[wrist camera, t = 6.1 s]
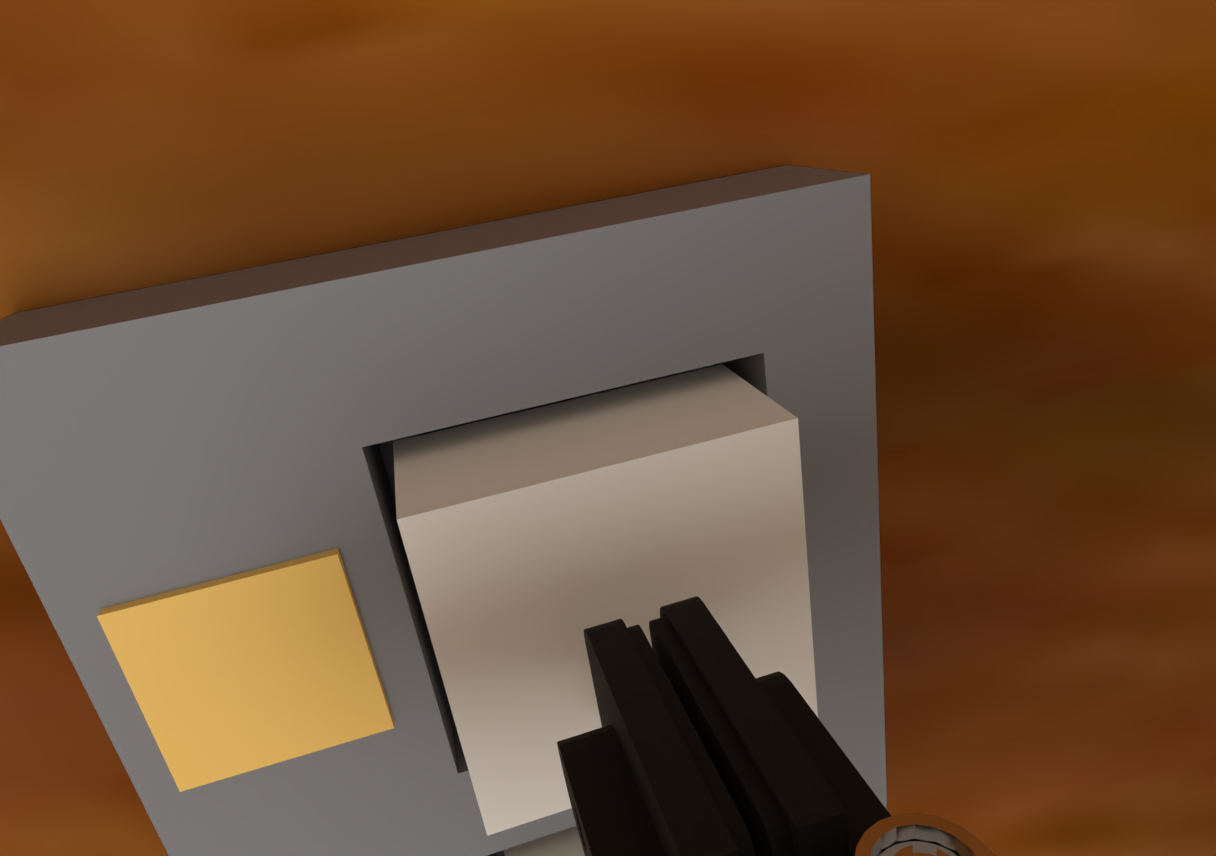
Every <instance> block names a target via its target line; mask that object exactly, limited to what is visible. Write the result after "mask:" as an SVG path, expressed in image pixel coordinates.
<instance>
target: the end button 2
mask: <svg viewBox="0 0 1216 856" xmlns="http://www.w3.org/2000/svg"><path fill="white" fill-rule="evenodd" d="M393 452H394V474H395V496H396V518H397V523H398V526H399V530H400V533H401V537H402V540H403V544H404V547H405V551H406V554H407V558H408V561H409V565H410V568H411V572H412V575H413V579H414V582H415V586H416V589H417V593H418V596H419V600H420V603H421V607H422V610H423V613H424V617H425V620H426V624H427V627H428V631H429V634H430V638H431V641H432V645H433V648H434V652H435V655H436V659H437V662H438V666H439V669H440V673H441V676H442V680H443V683H444V687H445V690H446V694H447V697H448V701H449V704H450V708H451V711H452V715H453V718H454V721H455V725H456V728H457V732H458V735H459V739H460V742H461V746H462V749H463V753H464V756H465V760H466V763H467V767H468V770H469V774H470V777H471V781H472V784H473V788H474V791H475V795H476V798H477V802H478V805H479V809H480V812H481V816H482V819H483V823H484V826H485V830H486V833H487V836H488V835H491V834H494V833H497V832H501V831H504V830H507V829H510V828H513V827H516V826H519V825H522V824H525V823H528V822H531V821H534V820H537V819H540V818H543V817H546V816H549V815H552V814H555V813H558V812H561V811H564V810H568V809H571V808H572V807H571V803H570V799H569V795H568V791H567V786H566V782H565V778H564V773H563V769H562V765H561V760H560V756H559V751H558V746H557V742H558V741H561V740H564V739H567V738H570V737H573V736H577V735H580V734H583V733H586V732H589V731H592V730H595V729H599V728H602V725H601V720H600V715H599V710H598V705H597V700H596V695H595V690H594V684H593V679H592V674H591V669H590V664H589V659H588V654H587V649H586V644H585V638H584V629H587V628H590V627H594V626H597V625H600V624H604V623H607V622H611V621H614V620H617V619H622V620H623V621H624V623H625V625H626V627H627V628H628V627H631V626H634V625H640V627H641V628H642V630H643V632H644V634H645V636H646V638H647V640H648V641H649V643H650V645H651V647H652V643H651V637H650V631H649V622H650V621H651V620H655V619H658V618H660V608H661V607H662V606H665V605H668V604H672V603H675V602H679V601H682V600H685V599H689V598H692V597H696V596H697V597H699V598H700V599H701V600H702V601H703V602H704V604H705V605H706V607H707V608H708V610H709V611H710V613H711V614H712V616H713V617H714V618H715V620H716V621H717V623H718V624H719V626H720V627H721V629H722V630H723V632H724V633H725V634H726V636H727V637H728V639H729V640H730V642H731V643H732V645H733V646H734V648H735V649H736V650H737V652H738V653H739V655H740V656H741V658H742V659H743V661H744V662H745V664H746V665H747V666H748V668H749V669H750V671H751V672H752V674H753V675H754V677H755V678H759V677H762V676H765V675H768V674H771V673H774V672H778V671H779V672H781V673H783V674H785V675H786V677H787V678H788V679H789V680H790V681H791V682H792V684H793V685H794V686H795V688H796V689H797V690H798V692H799V693H800V694H801V696H802V697H803V698H804V700H805V701H806V702H807V704H808V705H809V706H810V708H811V709H812V710H813V712H814V713H815V714H816V716H817V717H818V710H817V695H816V680H815V665H814V650H813V635H812V620H811V605H810V590H809V575H808V560H807V546H806V531H805V516H804V501H803V486H802V471H801V456H800V441H799V426H798V418H797V417H796V416H794V415H793V414H791V413H790V412H789V411H787V410H786V409H784V408H783V407H782V406H780V405H779V404H777V403H776V402H775V401H773V400H772V399H770V398H769V397H768V396H766V395H765V394H763V393H762V392H761V391H759V390H758V389H756V388H755V387H753V386H752V385H751V384H749V383H748V382H746V381H745V380H744V379H742V378H741V377H739V376H738V375H737V374H735V373H734V372H732V371H731V370H730V369H728V368H727V367H725V366H724V365H723V364H720V365H716V366H712V367H708V368H703V369H699V370H695V371H691V372H687V373H682V374H678V375H674V376H670V377H665V378H661V379H657V380H653V381H648V382H644V383H640V384H636V385H631V386H627V387H623V388H619V389H614V390H610V391H606V392H602V393H597V394H593V395H589V396H585V397H580V398H576V399H572V400H568V401H563V402H559V403H555V404H551V405H546V406H542V407H538V408H534V409H529V410H525V411H521V412H517V413H512V414H508V415H504V416H500V417H496V418H491V419H487V420H483V421H479V422H474V423H470V424H466V425H462V426H457V427H453V428H449V429H445V430H440V431H436V432H432V433H428V434H423V435H419V436H415V437H411V438H406V439H402V440H398V441H394V442H393Z"/></svg>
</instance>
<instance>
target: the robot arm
mask: <svg viewBox="0 0 1216 856" xmlns="http://www.w3.org/2000/svg"><path fill="white" fill-rule="evenodd" d="M649 631H650V637H651V643H652V647H651V645H650V643H649V641H648V640H647V638H646V636H645V634H644V632H643V630H642V628H641V627H640V625H634V626H631V627H628V628H627V627H626V625H625V623H624V621H623V620H622V619H617V620H614V621H611V622H607V623H604V624H600V625H597V626H594V627H590V628H587V629H584V638H585V644H586V649H587V654H588V659H589V664H590V669H591V674H592V679H593V684H594V690H595V695H596V700H597V705H598V710H599V715H600V720H601V725H602V728H599V729H595V730H592V731H589V732H586V733H583V734H580V735H577V736H573V737H570V738H567V739H564V740H561V741H558V742H557V746H558V751H559V756H560V760H561V765H562V769H563V773H564V778H565V782H566V786H567V791H568V795H569V799H570V803H571V807H572V811H573V814H574V818H575V822H576V826H577V830H578V833H579V837H580V840H581V844H582V848H583V851H584V855H585V856H996V855H995V854H994V853H993V852H992V851H991V850H990V849H989V848H987V847H986V846H985V845H984V844H983V843H982V842H981V841H980V840H979V839H977V838H976V837H975V836H973V835H972V834H971V833H969V832H968V831H966V830H965V829H964V828H962V827H961V826H959V825H957V824H954V823H952V822H950V821H947V820H945V819H943V818H940V817H936V816H931V815H925V814H920V813H910V814H896V815H893V816H891V815H890V814H889V812H888V811H887V810H886V808H885V807H884V806H883V804H882V803H881V802H880V800H879V799H878V798H877V796H876V795H875V793H874V792H873V791H872V789H871V788H870V787H869V785H868V784H867V783H866V781H865V780H864V779H863V777H862V776H861V775H860V773H859V772H858V771H857V769H856V768H855V767H854V765H853V764H852V763H851V761H850V760H849V759H848V757H847V756H846V755H845V753H844V752H843V751H842V749H841V748H840V747H839V745H838V744H837V743H836V741H835V740H834V739H833V737H832V736H831V735H830V733H829V732H828V730H827V729H826V728H825V726H824V725H823V724H822V722H821V721H820V720H819V718H818V717H817V716H816V714H815V713H814V712H813V710H812V709H811V708H810V706H809V705H808V704H807V702H806V701H805V700H804V698H803V697H802V696H801V694H800V693H799V692H798V690H797V689H796V688H795V686H794V685H793V684H792V682H791V681H790V680H789V679H788V678H787V677H786V675H785V674H783V673H781V672H779V671H778V672H774V673H771V674H768V675H765V676H762V677H759V678H755V677H754V675H753V674H752V672H751V671H750V669H749V668H748V666H747V665H746V664H745V662H744V661H743V659H742V658H741V656H740V655H739V653H738V652H737V650H736V649H735V648H734V646H733V645H732V643H731V642H730V640H729V639H728V637H727V636H726V634H725V633H724V632H723V630H722V629H721V627H720V626H719V624H718V623H717V621H716V620H715V618H714V617H713V616H712V614H711V613H710V611H709V610H708V608H707V607H706V605H705V604H704V602H703V601H702V600H701V599H700V598H699V597H697V596H696V597H692V598H689V599H685V600H682V601H679V602H675V603H672V604H668V605H665V606H662V607H661V608H660V618H658V619H655V620H651V621H650V622H649Z"/></svg>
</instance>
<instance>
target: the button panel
mask: <svg viewBox="0 0 1216 856" xmlns="http://www.w3.org/2000/svg"><path fill="white" fill-rule="evenodd" d="M720 364H723V365H724V366H725V367H727V368H728V369H730V370H731V371H732V372H734V373H735V374H737V375H738V376H739V377H741V378H742V379H744V380H745V381H746V382H748V383H749V384H751V385H752V386H753V387H755V388H756V389H758V390H759V391H761V392H762V393H763V394H765V395H766V396H768V397H769V398H770V399H772V400H773V401H775V402H776V403H777V404H779V405H780V406H782V407H783V408H784V409H786V410H787V411H789V412H790V413H791V414H793V415H794V416H796V417H797V418H798V426H799V441H800V456H801V471H802V486H803V501H804V516H805V531H806V546H807V560H808V575H809V590H810V605H811V620H812V635H813V650H814V665H815V680H816V695H817V710H818V718H819V720H820V721H821V722H822V724H823V725H824V726H825V728H826V729H827V730H828V732H829V733H830V735H831V736H832V737H833V739H834V740H835V741H836V743H837V744H838V745H839V747H840V748H841V749H842V751H843V752H844V753H845V755H846V756H847V757H848V759H849V760H850V761H851V763H852V764H853V765H854V767H855V768H856V769H857V771H858V772H859V773H860V775H861V776H862V777H863V779H864V780H865V781H866V783H867V784H868V785H869V787H870V788H871V789H872V791H873V792H874V793H875V795H876V796H877V798H878V799H879V800H880V802H881V803H882V804H883V806H884V807H885V808H886V810H887V793H886V755H885V718H884V680H883V642H882V605H881V567H880V530H879V492H878V454H877V417H876V379H875V342H874V304H873V267H872V229H871V191H870V174H864V173H855V172H846V171H837V170H828V169H819V168H810V167H801V166H792V165H784V166H779V167H774V168H769V169H763V170H758V171H753V172H748V173H743V174H737V175H732V176H727V177H722V178H717V179H711V180H706V181H701V182H696V183H690V184H685V185H680V186H675V187H670V188H664V189H659V190H654V191H649V192H643V193H638V194H633V195H628V196H623V197H617V198H612V199H607V200H602V201H597V202H591V203H586V204H581V205H576V206H570V207H565V208H560V209H555V210H550V211H544V212H539V213H534V214H529V215H524V216H518V217H513V218H508V219H503V220H497V221H492V222H487V223H482V224H477V225H471V226H466V227H461V228H456V229H451V230H445V231H440V232H435V233H430V234H424V235H419V236H414V237H409V238H404V239H398V240H393V241H388V242H383V243H377V244H372V245H367V246H362V247H357V248H351V249H346V250H341V251H336V252H331V253H325V254H320V255H315V256H310V257H304V258H299V259H294V260H289V261H284V262H278V263H273V264H268V265H263V266H258V267H252V268H247V269H242V270H237V271H231V272H226V273H221V274H216V275H211V276H205V277H200V278H195V279H190V280H185V281H179V282H174V283H169V284H164V285H158V286H153V287H148V288H143V289H138V290H132V291H127V292H122V293H117V294H111V295H106V296H101V297H96V298H91V299H85V300H80V301H75V302H70V303H65V304H59V305H54V306H49V307H44V308H38V309H33V310H28V311H23V312H18V313H13V314H11V315H9V316H7V317H5V318H3V319H1V320H0V519H1V521H2V523H3V525H4V527H5V529H6V531H7V533H8V535H9V537H10V539H11V541H12V543H13V545H14V547H15V549H16V551H17V553H18V555H19V557H20V559H21V561H22V563H23V565H24V567H25V569H26V571H27V573H28V575H29V577H30V579H31V581H32V583H33V585H34V587H35V589H36V591H37V593H38V595H39V597H40V599H41V601H42V603H43V605H44V607H45V609H46V611H47V613H48V615H49V617H50V619H51V621H52V623H53V625H54V627H55V629H56V631H57V633H58V635H59V637H60V639H61V641H62V643H63V645H64V647H65V649H66V651H67V653H68V655H69V657H70V659H71V661H72V663H73V665H74V667H75V669H76V671H77V673H78V675H79V677H80V679H81V681H82V683H83V685H84V687H85V689H86V691H87V693H88V695H89V697H90V699H91V701H92V703H93V705H94V707H95V709H96V711H97V713H98V715H99V717H100V719H101V721H102V723H103V725H104V727H105V729H106V731H107V733H108V735H109V737H110V739H111V741H112V743H113V745H114V747H115V749H116V751H117V753H118V755H119V757H120V759H121V761H122V763H123V765H124V767H125V769H126V771H127V773H128V775H129V777H130V779H131V781H132V783H133V785H134V787H135V789H136V791H137V793H138V795H139V797H140V799H141V801H142V803H143V805H144V807H145V809H146V811H147V813H148V815H149V817H150V819H151V821H152V823H153V825H154V827H155V829H156V831H157V833H158V835H159V837H160V839H161V841H162V843H163V845H164V847H165V849H166V851H167V853H168V855H169V856H505V855H504V850H505V849H508V848H511V847H514V846H517V845H520V844H523V843H526V842H529V841H532V840H535V839H538V838H541V837H544V836H547V835H550V834H553V833H556V832H559V831H562V830H565V829H568V828H571V827H574V826H576V822H575V818H574V814H573V811H572V808H571V809H568V810H564V811H561V812H558V813H555V814H552V815H549V816H546V817H543V818H540V819H537V820H534V821H531V822H528V823H525V824H522V825H519V826H516V827H513V828H510V829H507V830H504V831H501V832H497V833H494V834H491V835H488V836H487V833H486V830H485V826H484V823H483V819H482V816H481V812H480V809H479V805H478V802H477V798H476V795H475V791H474V788H473V784H472V781H471V777H470V774H469V770H468V767H467V763H466V760H465V756H464V753H463V749H462V746H461V742H460V739H459V735H458V732H457V728H456V725H455V721H454V718H453V715H452V711H451V708H450V704H449V701H448V697H447V694H446V690H445V687H444V683H443V680H442V676H441V673H440V669H439V666H438V662H437V659H436V655H435V652H434V648H433V645H432V641H431V638H430V634H429V631H428V627H427V624H426V620H425V617H424V613H423V610H422V607H421V603H420V600H419V596H418V593H417V589H416V586H415V582H414V579H413V575H412V572H411V568H410V565H409V561H408V558H407V554H406V551H405V547H404V544H403V540H402V537H401V533H400V530H399V526H398V523H397V518H396V496H395V474H394V452H393V442H394V441H398V440H402V439H406V438H411V437H415V436H419V435H423V434H428V433H432V432H436V431H440V430H445V429H449V428H453V427H457V426H462V425H466V424H470V423H474V422H479V421H483V420H487V419H491V418H496V417H500V416H504V415H508V414H512V413H517V412H521V411H525V410H529V409H534V408H538V407H542V406H546V405H551V404H555V403H559V402H563V401H568V400H572V399H576V398H580V397H585V396H589V395H593V394H597V393H602V392H606V391H610V390H614V389H619V388H623V387H627V386H631V385H636V384H640V383H644V382H648V381H653V380H657V379H661V378H665V377H670V376H674V375H678V374H682V373H687V372H691V371H695V370H699V369H703V368H708V367H712V366H716V365H720Z"/></svg>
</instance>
